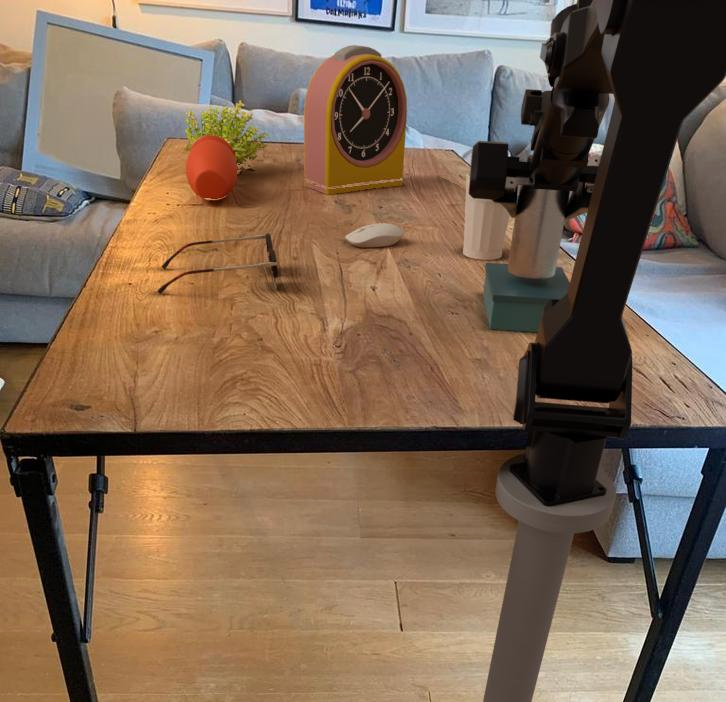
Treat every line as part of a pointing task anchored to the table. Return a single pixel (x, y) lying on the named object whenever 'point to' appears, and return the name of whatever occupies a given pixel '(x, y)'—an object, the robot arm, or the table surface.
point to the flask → (537, 231)
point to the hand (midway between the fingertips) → (538, 216)
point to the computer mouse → (375, 235)
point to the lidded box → (519, 297)
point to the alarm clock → (354, 122)
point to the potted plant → (218, 151)
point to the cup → (484, 227)
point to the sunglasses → (271, 258)
